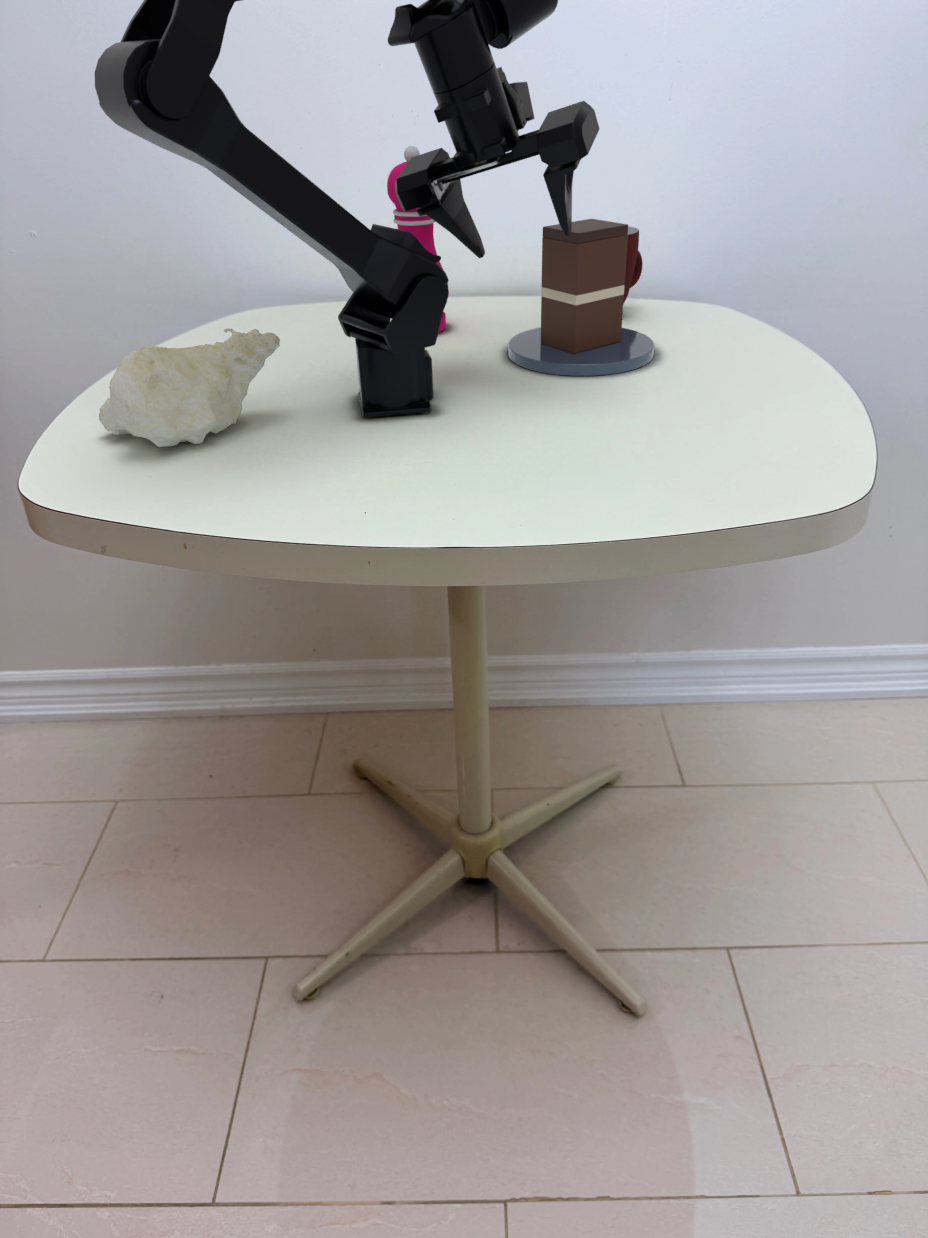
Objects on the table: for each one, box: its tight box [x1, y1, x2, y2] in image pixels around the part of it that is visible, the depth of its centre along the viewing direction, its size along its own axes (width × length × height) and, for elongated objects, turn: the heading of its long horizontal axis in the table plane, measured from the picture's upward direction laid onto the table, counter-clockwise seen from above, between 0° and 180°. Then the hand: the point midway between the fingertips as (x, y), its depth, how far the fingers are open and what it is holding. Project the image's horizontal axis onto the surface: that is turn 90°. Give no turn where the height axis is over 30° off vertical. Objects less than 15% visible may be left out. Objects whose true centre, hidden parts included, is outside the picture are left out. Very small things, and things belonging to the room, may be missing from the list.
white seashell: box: [98, 328, 281, 448], centre depth 80 cm, size 15×7×15 cm
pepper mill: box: [386, 145, 450, 334], centre depth 105 cm, size 7×7×20 cm
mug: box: [623, 225, 643, 305], centre depth 111 cm, size 11×8×10 cm
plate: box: [507, 326, 655, 377], centre depth 100 cm, size 16×16×1 cm
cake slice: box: [540, 218, 629, 354], centre depth 96 cm, size 7×6×12 cm
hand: (524, 244), depth 87 cm, fingers open, 9 cm apart
